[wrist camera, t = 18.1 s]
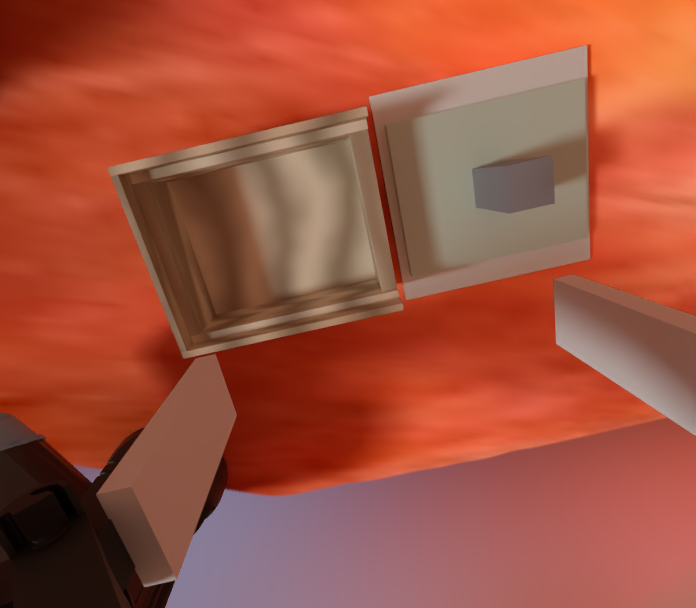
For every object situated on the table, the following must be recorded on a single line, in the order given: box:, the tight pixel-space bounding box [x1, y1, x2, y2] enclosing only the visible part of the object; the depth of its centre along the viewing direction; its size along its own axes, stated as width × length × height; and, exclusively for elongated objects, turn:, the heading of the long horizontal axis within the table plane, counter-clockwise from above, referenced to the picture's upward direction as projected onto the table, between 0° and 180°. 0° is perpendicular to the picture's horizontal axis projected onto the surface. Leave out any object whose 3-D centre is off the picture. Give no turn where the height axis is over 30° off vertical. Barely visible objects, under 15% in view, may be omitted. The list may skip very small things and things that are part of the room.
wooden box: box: [107, 106, 404, 359], centre depth 38 cm, size 22×18×9 cm
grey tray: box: [369, 45, 590, 300], centre depth 41 cm, size 22×22×1 cm
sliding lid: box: [384, 78, 588, 277], centre depth 37 cm, size 20×16×9 cm
